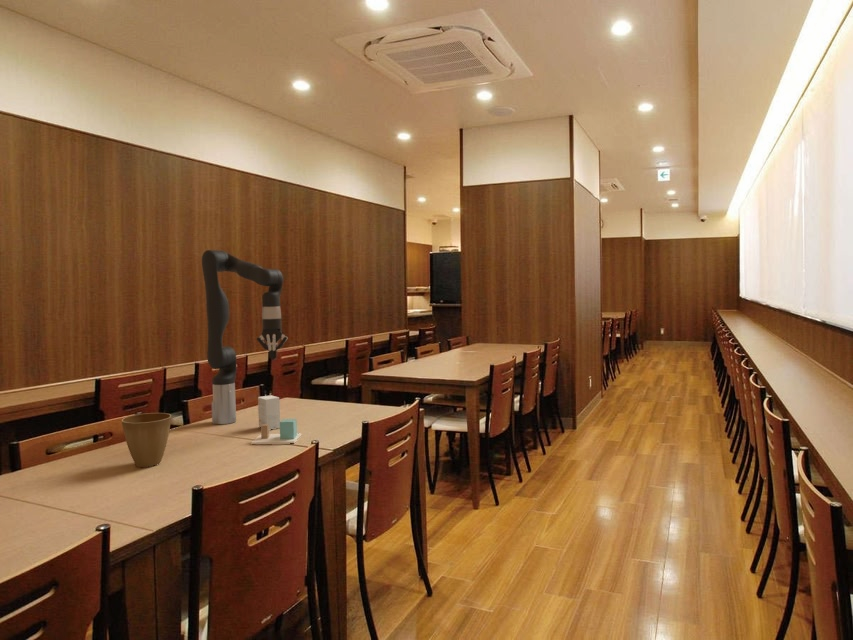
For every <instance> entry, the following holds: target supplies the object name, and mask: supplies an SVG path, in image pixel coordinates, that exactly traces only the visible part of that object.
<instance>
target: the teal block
mask: <svg viewBox="0 0 853 640" xmlns="http://www.w3.org/2000/svg"><path fill="white" fill-rule="evenodd" d="M297 420H298V419H297V418H283V419H281V420H280V428H279V434H280V439H294V438H295V437H296V436H297V433H298V423H297V422H298V421H297Z"/></svg>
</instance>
